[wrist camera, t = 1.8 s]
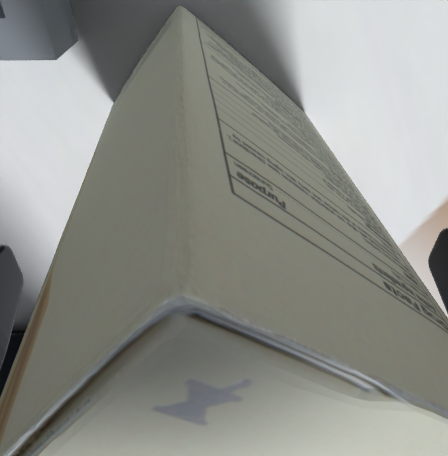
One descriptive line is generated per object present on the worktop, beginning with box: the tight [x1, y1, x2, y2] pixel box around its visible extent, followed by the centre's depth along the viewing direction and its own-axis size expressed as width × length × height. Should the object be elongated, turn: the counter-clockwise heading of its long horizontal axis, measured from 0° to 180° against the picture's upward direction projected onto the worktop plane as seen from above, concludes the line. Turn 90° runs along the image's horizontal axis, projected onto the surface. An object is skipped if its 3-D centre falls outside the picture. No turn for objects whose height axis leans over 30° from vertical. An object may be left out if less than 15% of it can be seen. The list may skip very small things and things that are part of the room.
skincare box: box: [0, 5, 448, 456], centre depth 9 cm, size 6×4×12 cm
